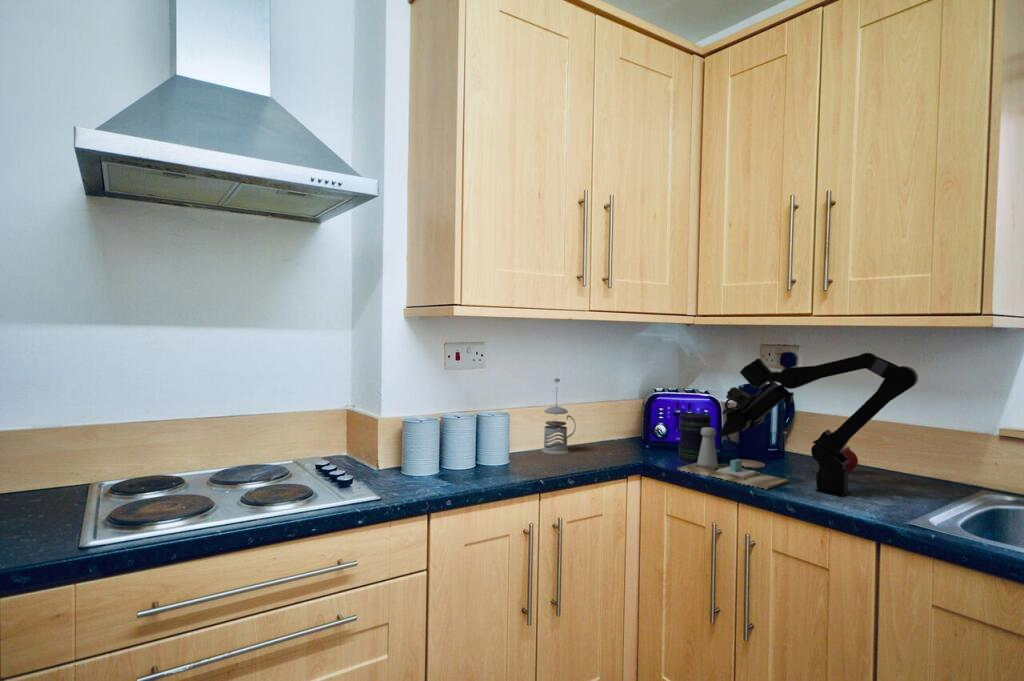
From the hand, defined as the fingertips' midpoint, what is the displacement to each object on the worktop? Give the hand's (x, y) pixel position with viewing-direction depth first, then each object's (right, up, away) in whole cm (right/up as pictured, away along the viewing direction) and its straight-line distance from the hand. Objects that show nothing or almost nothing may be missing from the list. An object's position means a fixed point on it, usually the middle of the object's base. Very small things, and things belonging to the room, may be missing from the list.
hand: (724, 434), depth 170 cm
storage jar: (-4, -12, +17) cm, 21 cm away
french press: (-47, -11, +28) cm, 56 cm away
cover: (+2, -11, -4) cm, 12 cm away
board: (+1, -12, -3) cm, 12 cm away
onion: (+39, -13, +5) cm, 41 cm away
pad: (+13, -12, +14) cm, 22 cm away
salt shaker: (-4, -12, +3) cm, 13 cm away
